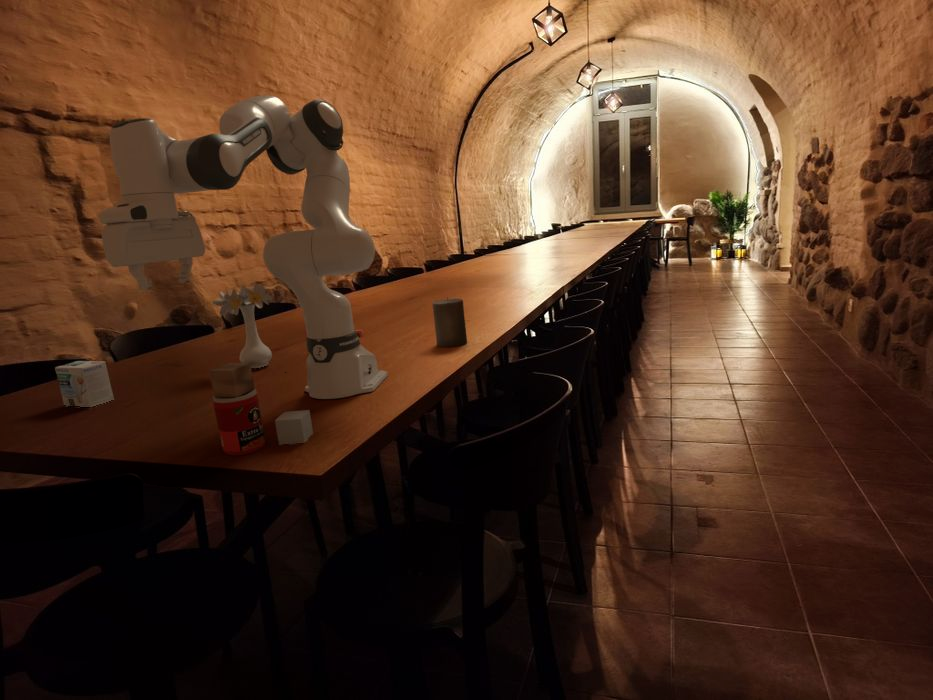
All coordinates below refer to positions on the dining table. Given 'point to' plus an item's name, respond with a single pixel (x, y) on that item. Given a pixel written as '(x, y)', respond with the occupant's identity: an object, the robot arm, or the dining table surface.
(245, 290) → the flower vase
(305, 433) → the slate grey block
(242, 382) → the walnut block
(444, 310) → the pillar candle
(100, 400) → the light bulb box
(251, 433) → the canned food
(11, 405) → the dining table surface
